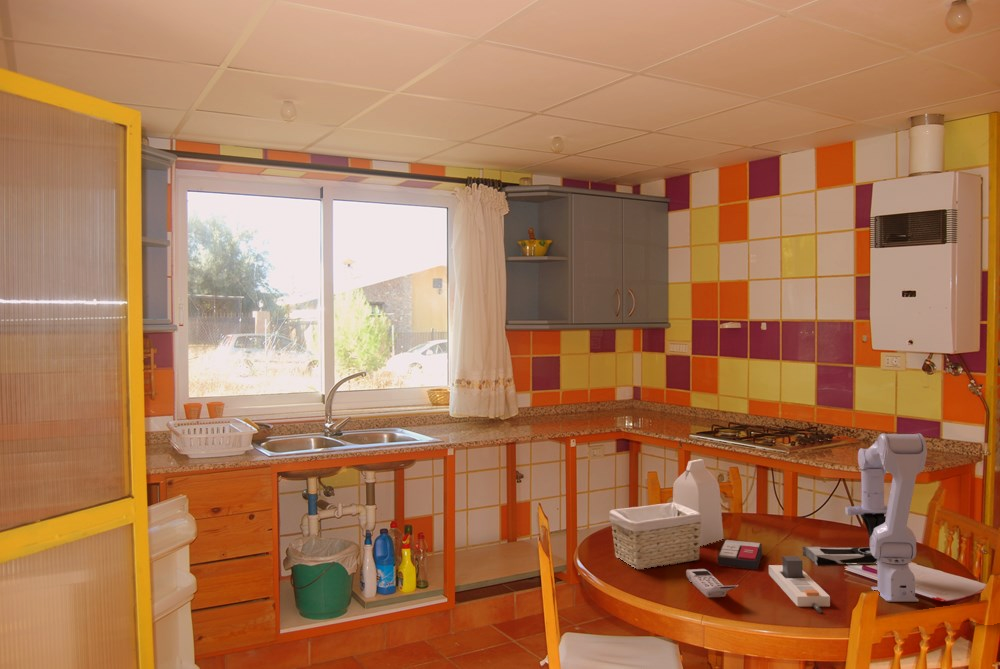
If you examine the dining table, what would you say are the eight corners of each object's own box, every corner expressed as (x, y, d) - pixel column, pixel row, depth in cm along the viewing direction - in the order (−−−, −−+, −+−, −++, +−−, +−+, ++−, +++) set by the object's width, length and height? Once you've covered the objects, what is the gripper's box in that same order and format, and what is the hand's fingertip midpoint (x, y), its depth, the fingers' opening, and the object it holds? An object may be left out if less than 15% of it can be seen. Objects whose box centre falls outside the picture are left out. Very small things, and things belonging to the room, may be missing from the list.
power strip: (837, 613, 184) (836, 600, 184) (803, 613, 185) (803, 600, 185) (797, 573, 213) (797, 562, 213) (768, 574, 213) (768, 562, 213)
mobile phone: (717, 586, 189) (681, 555, 214) (717, 610, 189) (682, 575, 214) (740, 585, 189) (702, 554, 214) (740, 608, 190) (702, 575, 214)
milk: (699, 546, 240) (698, 465, 239) (671, 538, 249) (670, 460, 248) (723, 539, 247) (722, 460, 246) (695, 532, 256) (694, 455, 256)
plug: (802, 586, 203) (802, 560, 203) (787, 586, 203) (787, 560, 203) (796, 580, 208) (796, 555, 208) (781, 580, 208) (781, 555, 208)
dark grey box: (717, 554, 221) (724, 537, 235) (717, 568, 222) (724, 551, 235) (756, 558, 217) (761, 541, 230) (757, 573, 217) (762, 555, 231)
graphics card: (802, 545, 229) (886, 545, 228) (802, 556, 229) (886, 556, 228) (814, 556, 219) (902, 555, 218) (814, 567, 219) (902, 567, 218)
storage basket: (633, 572, 217) (632, 521, 217) (608, 556, 233) (607, 508, 233) (705, 562, 225) (704, 513, 225) (675, 547, 241) (674, 501, 240)
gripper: (892, 488, 215) (893, 535, 215) (840, 488, 216) (841, 536, 216) (904, 494, 208) (905, 543, 208) (850, 494, 208) (851, 543, 209)
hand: (873, 540), depth 211 cm, fingers closed
